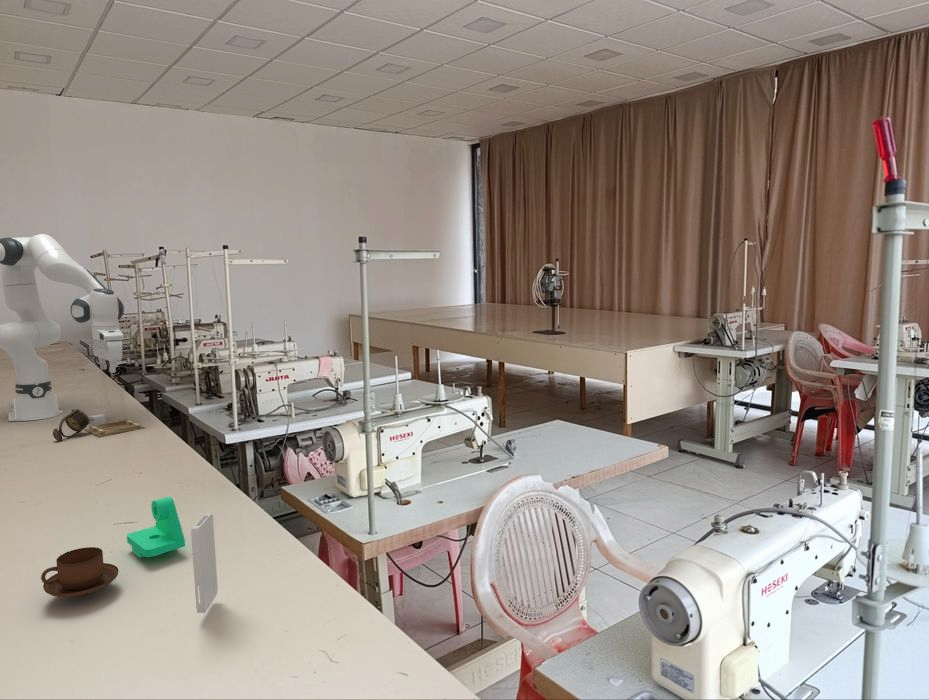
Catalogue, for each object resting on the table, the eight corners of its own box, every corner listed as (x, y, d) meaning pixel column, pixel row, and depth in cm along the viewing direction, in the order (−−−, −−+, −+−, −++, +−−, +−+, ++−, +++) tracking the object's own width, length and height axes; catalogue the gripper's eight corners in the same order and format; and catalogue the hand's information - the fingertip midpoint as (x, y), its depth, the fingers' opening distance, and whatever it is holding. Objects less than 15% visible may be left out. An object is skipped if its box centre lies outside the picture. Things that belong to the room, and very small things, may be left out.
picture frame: (84, 432, 240) (84, 426, 240) (130, 424, 251) (130, 418, 251) (98, 438, 230) (98, 432, 229) (146, 430, 241) (145, 424, 241)
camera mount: (126, 546, 139) (122, 499, 138) (163, 535, 145) (159, 490, 143) (147, 563, 131) (143, 513, 130) (185, 551, 136) (182, 503, 135)
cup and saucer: (68, 610, 113) (64, 576, 112) (30, 593, 119) (27, 561, 118) (133, 581, 123) (130, 549, 122) (95, 567, 129) (92, 537, 128)
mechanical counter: (95, 433, 237) (93, 406, 236) (71, 443, 224) (68, 414, 223) (76, 433, 238) (74, 406, 236) (51, 443, 225) (48, 414, 224)
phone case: (210, 593, 118) (205, 512, 116) (218, 592, 118) (213, 512, 116) (196, 614, 111) (190, 529, 109) (204, 614, 111) (198, 528, 109)
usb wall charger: (89, 426, 249) (88, 416, 248) (106, 422, 255) (105, 412, 254) (95, 427, 247) (94, 417, 246) (112, 423, 253) (112, 413, 252)
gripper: (87, 331, 245) (89, 368, 246) (106, 336, 230) (108, 375, 232) (105, 330, 249) (107, 366, 251) (125, 335, 235) (127, 373, 237)
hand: (108, 370), depth 241 cm, fingers open, 8 cm apart
